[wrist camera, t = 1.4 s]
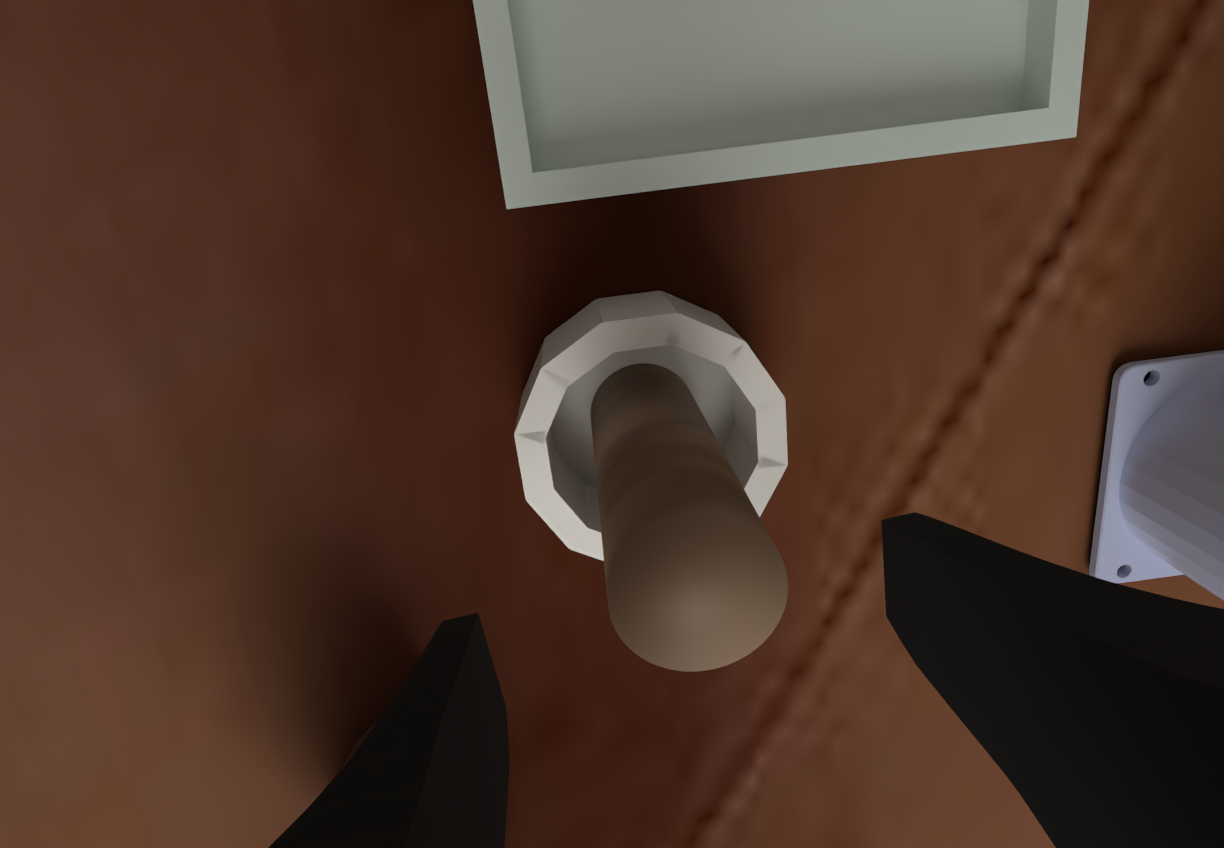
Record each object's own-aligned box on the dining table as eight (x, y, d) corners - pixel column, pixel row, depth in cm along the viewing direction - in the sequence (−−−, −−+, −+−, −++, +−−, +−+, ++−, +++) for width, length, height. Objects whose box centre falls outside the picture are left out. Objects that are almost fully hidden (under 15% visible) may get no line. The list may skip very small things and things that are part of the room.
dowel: (689, 356, 22) (784, 502, 12) (698, 454, 23) (791, 658, 13) (584, 370, 22) (597, 527, 12) (597, 468, 23) (618, 682, 13)
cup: (748, 278, 21) (781, 299, 18) (760, 496, 24) (791, 549, 21) (507, 310, 21) (496, 335, 18) (543, 525, 24) (540, 583, 20)
